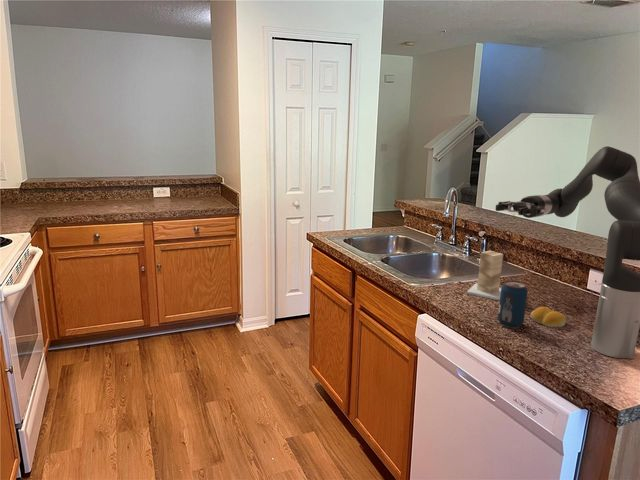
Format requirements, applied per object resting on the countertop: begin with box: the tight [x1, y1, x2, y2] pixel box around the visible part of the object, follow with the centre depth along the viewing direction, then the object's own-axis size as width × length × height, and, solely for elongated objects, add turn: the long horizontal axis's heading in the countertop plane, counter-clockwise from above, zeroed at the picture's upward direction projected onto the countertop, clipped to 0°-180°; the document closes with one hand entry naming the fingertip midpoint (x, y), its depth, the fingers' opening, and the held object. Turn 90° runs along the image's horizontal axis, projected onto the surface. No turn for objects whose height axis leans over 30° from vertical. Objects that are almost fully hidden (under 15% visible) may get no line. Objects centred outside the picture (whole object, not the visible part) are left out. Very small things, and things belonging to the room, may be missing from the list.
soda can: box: [497, 280, 528, 329], centre depth 134 cm, size 7×7×12 cm
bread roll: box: [530, 306, 567, 328], centre depth 137 cm, size 8×9×4 cm
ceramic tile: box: [466, 282, 501, 302], centre depth 160 cm, size 11×11×1 cm
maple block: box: [477, 250, 504, 294], centre depth 158 cm, size 5×5×13 cm
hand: (507, 209), depth 157 cm, fingers open, 8 cm apart
